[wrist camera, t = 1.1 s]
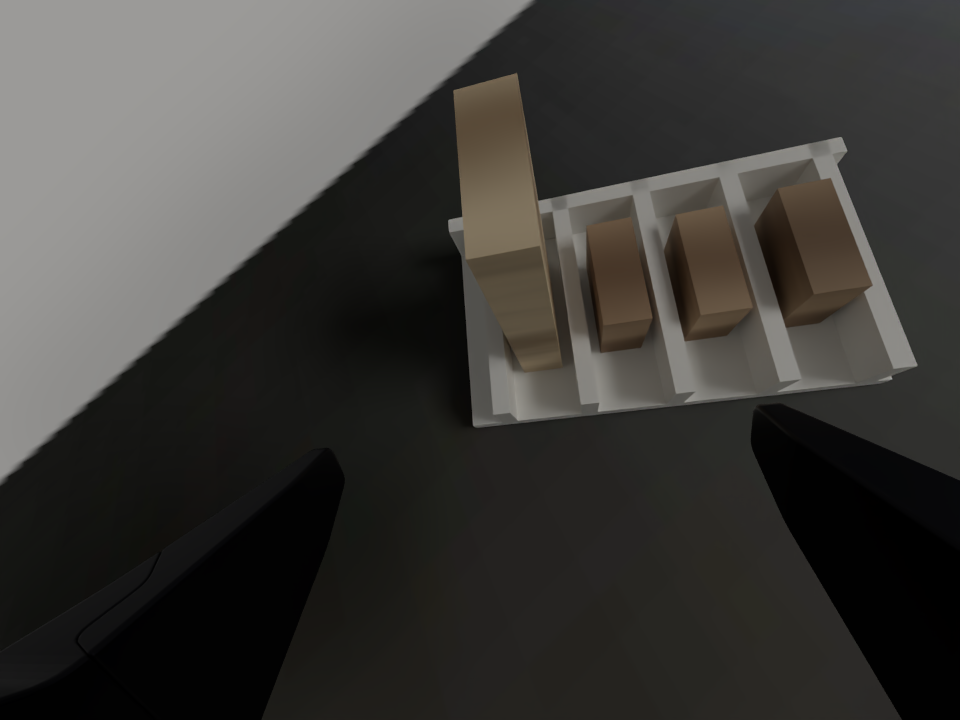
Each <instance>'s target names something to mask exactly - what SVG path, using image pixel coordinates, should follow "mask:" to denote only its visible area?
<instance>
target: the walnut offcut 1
mask: <svg viewBox="0 0 960 720" xmlns="http://www.w3.org/2000/svg"><path fill="white" fill-rule="evenodd" d="M586 269H587V275H588V281H589V287H590V293H591V299H592V305H593V311H594V317H595V323H596V329H597V335H598V341H599V347H600V352H601V353H606V352H613V351H620V350H627V349H635V348H641V347H642V344H643V342H644V339H645V337H646V334H647V332H648V329H649V327H650V324H651V321H652V319H653V317H652V312H651V308H650V303H649V298H648V293H647V289H646V284H645V279H644V275H643V270H642V265H641V260H640V256H639V251H638V246H637V242H636V237H635V232H634V227H633V223H632V218H631V217H628V218H623V219H618V220H613V221H608V222H603V223H598V224H593V225H588V226H586Z"/></svg>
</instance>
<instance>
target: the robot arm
mask: <svg viewBox="0 0 960 720" xmlns="http://www.w3.org/2000/svg"><path fill="white" fill-rule="evenodd" d="M751 446H752V449H753V452H754V455H755V457H756V459H757V461H758V464H759V466H760V468H761V470H762V472H763V475H764V477H765V479H766V481H767V484H768V486H769V488H770V490H771V493H772V495H773V497H774V499H775V502H776V504H777V506H778V508H779V511H780V513H781V515H782V517H783V519H784V521H785V523H786V525H787V526H788V528H789V530H790V532H791V534H792V535H793V537H794V539H795V540H796V542H797V544H798V545H799V547H800V549H801V550H802V552H803V554H804V556H805V557H806V559H807V561H808V562H809V564H810V566H811V567H812V569H813V571H814V572H815V574H816V576H817V577H818V579H819V581H820V582H821V584H822V586H823V588H824V589H825V591H826V593H827V594H828V596H829V598H830V599H831V601H832V603H833V604H834V606H835V608H836V609H837V611H838V613H839V614H840V616H841V618H842V619H843V621H844V623H845V625H846V626H847V628H848V630H849V631H850V633H851V635H852V636H853V638H854V640H855V641H856V643H857V645H858V646H859V648H860V650H861V651H862V653H863V655H864V657H865V658H866V660H867V662H868V663H869V665H870V667H871V668H872V670H873V672H874V673H875V675H876V677H877V678H878V680H879V682H880V683H881V685H882V687H883V688H884V690H885V692H886V694H887V695H888V697H889V699H890V700H891V702H892V704H893V705H894V707H895V709H896V710H897V712H898V714H899V715H900V717H901V719H902V720H960V480H957V479H955V478H953V477H951V476H948V475H946V474H944V473H941V472H939V471H937V470H934V469H932V468H930V467H927V466H925V465H923V464H920V463H918V462H916V461H914V460H911V459H909V458H907V457H904V456H902V455H900V454H897V453H895V452H893V451H890V450H888V449H886V448H883V447H881V446H879V445H876V444H874V443H872V442H870V441H867V440H865V439H863V438H860V437H858V436H856V435H853V434H851V433H849V432H846V431H844V430H842V429H839V428H837V427H835V426H833V425H830V424H828V423H826V422H823V421H821V420H819V419H816V418H814V417H812V416H809V415H807V414H805V413H802V412H800V411H798V410H796V409H793V408H791V407H789V406H786V405H784V404H781V403H770V404H761V405H757V406H756V407H755V408H754V411H753V419H752V431H751ZM344 483H345V478H344V474H343V471H342V469H341V467H340V465H339V462H338V460H337V458H336V456H335V454H334V452H333V451H332V450H331V449H329V448H322V449H314V450H312V451H310V452H308V453H307V454H305V455H304V456H302V457H301V458H299V459H298V460H296V461H295V462H293V463H292V464H290V465H289V466H287V467H286V468H284V469H283V470H281V471H280V472H278V473H277V474H275V475H274V476H272V477H271V478H269V479H268V480H266V481H265V482H263V483H262V484H260V485H259V486H257V487H256V488H254V489H253V490H251V491H250V492H248V493H247V494H245V495H244V496H242V497H241V498H239V499H238V500H236V501H235V502H233V503H232V504H230V505H229V506H227V507H226V508H224V509H223V510H221V511H220V512H218V513H217V514H215V515H214V516H212V517H211V518H209V519H208V520H206V521H205V522H203V523H202V524H200V525H199V526H197V527H196V528H194V529H193V530H191V531H190V532H188V533H187V534H185V535H184V536H182V537H181V538H179V539H178V540H176V541H175V542H173V543H172V544H170V545H169V546H167V547H166V548H164V549H163V550H162V552H158V553H157V554H155V555H154V556H152V557H151V558H149V559H148V560H146V561H145V562H143V563H142V564H140V565H139V566H137V567H136V568H134V569H133V570H131V571H129V572H128V573H126V574H125V575H123V576H122V577H120V578H119V579H117V580H116V581H114V582H113V583H111V584H109V585H108V586H106V587H105V588H103V589H101V590H100V591H98V592H97V593H95V594H93V595H92V596H90V597H89V598H87V599H85V600H84V601H82V602H80V603H79V604H77V605H76V606H74V607H72V608H71V609H69V610H67V611H66V612H64V613H63V614H61V615H59V616H58V617H56V618H54V619H53V620H51V621H49V622H48V623H46V624H45V625H43V626H41V627H40V628H38V629H36V630H35V631H33V632H31V633H30V634H28V635H26V636H25V637H23V638H22V639H20V640H18V641H17V642H15V643H13V644H12V645H10V646H8V647H7V648H5V649H4V650H2V651H0V720H261V719H262V716H263V713H264V711H265V708H266V706H267V703H268V700H269V698H270V695H271V693H272V690H273V687H274V685H275V682H276V679H277V677H278V674H279V672H280V669H281V666H282V664H283V661H284V659H285V656H286V653H287V651H288V648H289V645H290V643H291V640H292V638H293V635H294V632H295V630H296V627H297V625H298V622H299V619H300V617H301V614H302V611H303V609H304V606H305V604H306V601H307V598H308V596H309V593H310V591H311V588H312V585H313V583H314V580H315V577H316V575H317V572H318V570H319V567H320V564H321V562H322V559H323V557H324V554H325V551H326V548H327V545H328V542H329V539H330V536H331V532H332V528H333V525H334V521H335V517H336V514H337V510H338V506H339V503H340V499H341V495H342V492H343V488H344Z"/></svg>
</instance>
